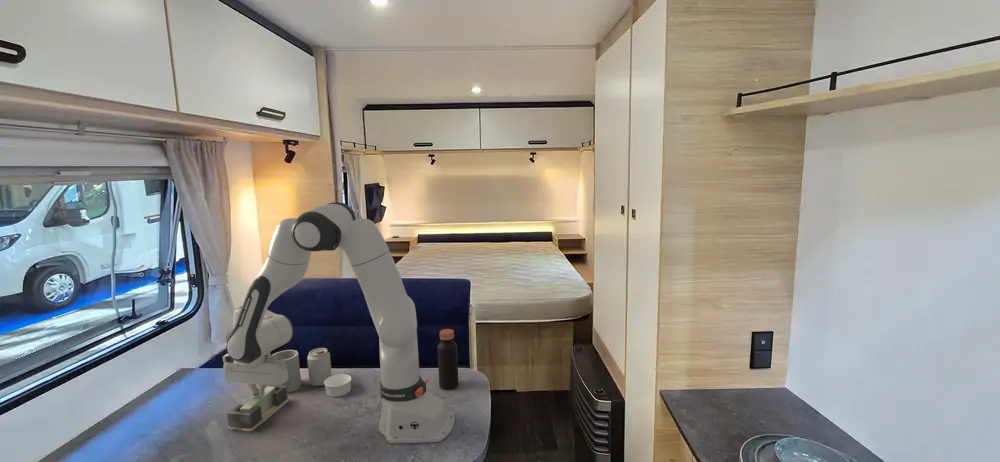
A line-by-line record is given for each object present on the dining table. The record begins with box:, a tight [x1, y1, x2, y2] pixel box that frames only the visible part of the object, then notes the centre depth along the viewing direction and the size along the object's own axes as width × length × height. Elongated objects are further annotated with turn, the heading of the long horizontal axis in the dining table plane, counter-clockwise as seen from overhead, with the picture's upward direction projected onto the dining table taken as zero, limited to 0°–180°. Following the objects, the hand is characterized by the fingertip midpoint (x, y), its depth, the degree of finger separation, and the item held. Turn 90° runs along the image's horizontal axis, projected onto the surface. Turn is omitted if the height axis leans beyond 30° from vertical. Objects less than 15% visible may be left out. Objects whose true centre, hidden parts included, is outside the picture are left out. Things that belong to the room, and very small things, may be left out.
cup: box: [272, 349, 302, 394], centre depth 152 cm, size 9×9×12 cm
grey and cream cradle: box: [226, 385, 290, 432], centre depth 136 cm, size 8×17×5 cm, turn 170°
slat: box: [240, 387, 276, 414], centre depth 136 cm, size 3×13×5 cm, turn 175°
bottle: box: [437, 328, 459, 391], centre depth 150 cm, size 7×7×20 cm
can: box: [306, 347, 333, 387], centre depth 156 cm, size 8×8×12 cm
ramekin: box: [323, 373, 352, 398], centre depth 150 cm, size 9×9×4 cm
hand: (258, 395), depth 136 cm, fingers closed
